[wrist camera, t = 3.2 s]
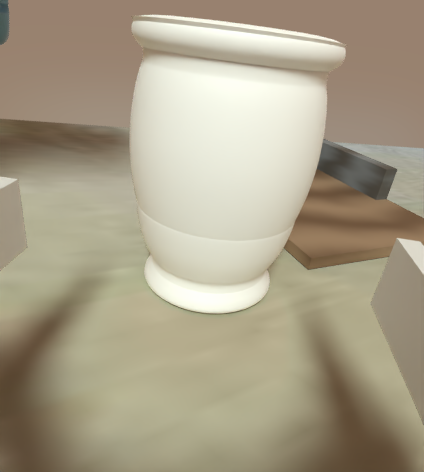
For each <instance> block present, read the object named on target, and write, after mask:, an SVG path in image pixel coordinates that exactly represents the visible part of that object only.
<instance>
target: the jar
mask: <svg viewBox="0 0 424 472" xmlns="http://www.w3.org/2000/svg"><path fill="white" fill-rule="evenodd" d="M132 19H133V23H132V35H133V37H134V39H135V40H136V41H137V42H138V43H139V44H140V45H141V46H142V47H143V59H142V63H141V66H140V69H139V72H138V76H137V80H136V84H135V89H134V96H133V101H132V109H131V119H130V137H129V146H130V164H131V173H132V180H133V185H134V190H135V195H136V199H137V200H136V202H137V213H138V219H139V224H140V229H141V232H142V235H143V238H144V241H145V243H146V246H147V248H148V250H149V252H150V256H149V257H148V259H147V261H146V264H145V268H144V275H145V279H146V281H147V283H148V285H149V286H150V288H151V289H152V290H153V291H154V292H155V293H156V294H157V295H158V296H159V297H161V298H162V299H164V300H165V301H167V302H169V303H171V304H173V305H175V306H178V307H180V308H183V309H187V310H191V311H195V312H201V313H216V314H221V313H230V312H236V311H240V310H243V309H246V308H249V307H251V306H253V305H255V304H256V303H258V302H259V301H260V300H261V299H262V298H263V297H264V296H265V294H266V293H267V291H268V288H269V284H270V278H269V273H268V270H267V269H268V268H269V267H270V266H271V264H272V263H273V262H274V261H275V260H276V258H277V257H278V256H279V254H280V253H281V251H282V249H283V248H284V246H285V244H286V242H287V240H288V238H289V236H290V233H291V231H292V229H293V226H294V223H295V220H296V218H297V216H298V214H299V212H300V210H301V208H302V206H303V204H304V202H305V200H306V197H307V195H308V192H309V190H310V187H311V185H312V182H313V179H314V176H315V173H316V169H317V166H318V162H319V158H320V153H321V148H322V143H323V137H324V131H325V122H326V112H327V111H326V110H327V89H326V83H327V79H328V75H329V72H330V71H332V70H334V69H336V68H337V67H339V66H340V65H341V64H342V63H343V61H344V58H345V54H346V51H345V47H346V45H345V44H341V43H340V42H338V41H336V40H333V39H329V38H325V37H321V36H316V35H311V34H306V33H299V32H293V31H287V30H281V29H274V28H268V27H261V26H253V25H246V24H238V23H231V22H223V21H215V20H207V19H198V18H188V17H178V16H167V15H143V16H132Z"/></svg>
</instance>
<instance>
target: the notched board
mask: <svg viewBox="0 0 424 472" xmlns="http://www.w3.org/2000/svg"><path fill="white" fill-rule="evenodd" d="M396 172H397V169H396V168H393V167H391V166H388V165H386V164H384V163H381V162H379V161H376V160H374V159H371V158H369V157H367V156H364V155H362V154H359V153H357V152H355V151H352V150H350V149H347V148H345V147H342V146H340V145H338V144H335V143H333V142H330V141H328V140H326V139H323V143H322V148H321V153H320V158H319V162H318V166H317V169H316V173H315V176H314V179H313V182H312V185H311V187H310V190H309V192H308V195H307V197H306V200H305V202H304V204H303V206H302V208H301V210H300V212H299V214H298V216H297V218H296V220H295V223H294V226H293V229H292V231H291V233H290V236H289V238H288V240H287V242H286V244H285V246H284V248H285V249H286V250H287V251H288V252H289V253H290V254H291V255H293V256H294V257H295V258H296V259H297V260H298V261H299V262H300V263H301V264H303V265H304V266H305V267H306V268H307V269H314V268H321V267H327V266H333V265H339V264H345V263H351V262H358V261H364V260H370V259H376V258H382V257H388V256H390V254H391V251H392V249H393V246H394V244H395V241H396V239H397V238H401V239H407V240H414V241H420V242H421V243H422V244H423V246H424V218H422V217H420V216H418V215H416V214H414V213H412V212H410V211H408V210H406V209H404V208H402V207H401V206H399V205H397V204H395V203H393V202H391V201H389V200H387V196H388V193H389V191H390V188H391V185H392V182H393V180H394V177H395V174H396Z"/></svg>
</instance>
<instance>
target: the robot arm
mask: <svg viewBox="0 0 424 472" xmlns="http://www.w3.org/2000/svg"><path fill="white" fill-rule="evenodd" d="M8 36H9V8H8V0H0V45H2V44H4V43H5V42H6V41H7V39H8ZM26 248H27V239H26V232H25V225H24V218H23V211H22V204H21V196H20V189H19V182H18V179H13V178H6V177H0V271H1V270H2V269H3V268H4V267H5V266H6V265H8V264H9V263H10V262H11V261H12V260H13V259H14V258H16V257H17V256H18V255H19V254H20V253H21V252H23V251H24V250H25V249H26ZM371 306H372V308H373V310H374V312H375V315H376V317H377V319H378V322H379V324H380V326H381V329H382V331H383V333H384V335H385V338H386V340H387V342H388V345H389V347H390V349H391V351H392V354H393V356H394V358H395V361H396V363H397V365H398V367H399V370H400V372H401V374H402V377H403V379H404V381H405V383H406V386H407V388H408V390H409V393H410V395H411V397H412V399H413V402H414V404H415V406H416V409H417V411H418V413H419V415H420V418H421V420H422V422H423V425H424V246H423V244H422V243H421V242H420V241H414V240H407V239H401V238H397V239H396V241H395V244H394V246H393V249H392V251H391V254H390V256H389V259H388V261H387V264H386V266H385V269H384V271H383V273H382V276H381V278H380V281H379V283H378V286H377V288H376V291H375V293H374V296H373V298H372V301H371Z"/></svg>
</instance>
